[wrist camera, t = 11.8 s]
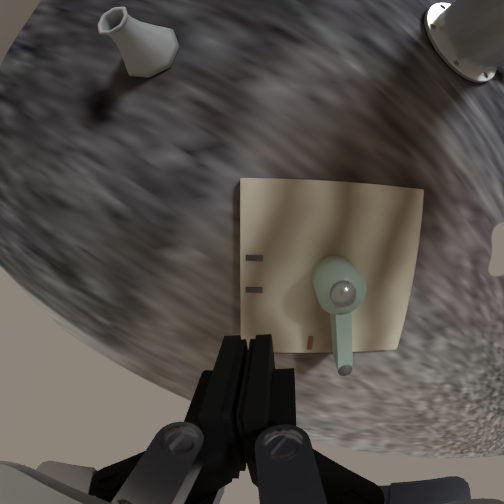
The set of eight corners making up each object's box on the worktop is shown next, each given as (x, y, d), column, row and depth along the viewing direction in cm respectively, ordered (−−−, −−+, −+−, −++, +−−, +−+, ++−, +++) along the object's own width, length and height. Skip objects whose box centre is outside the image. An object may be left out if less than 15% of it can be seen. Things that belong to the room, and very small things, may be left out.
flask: (179, 73, 27) (143, 39, 17) (123, 84, 28) (75, 62, 18) (181, 23, 25) (151, -18, 16) (127, 36, 26) (86, 5, 16)
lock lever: (309, 259, 30) (315, 275, 25) (353, 252, 29) (367, 266, 24) (319, 358, 33) (325, 383, 28) (357, 351, 32) (367, 375, 27)
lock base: (417, 188, 28) (424, 189, 27) (393, 343, 34) (397, 349, 32) (241, 177, 30) (240, 178, 28) (242, 344, 35) (240, 351, 33)
